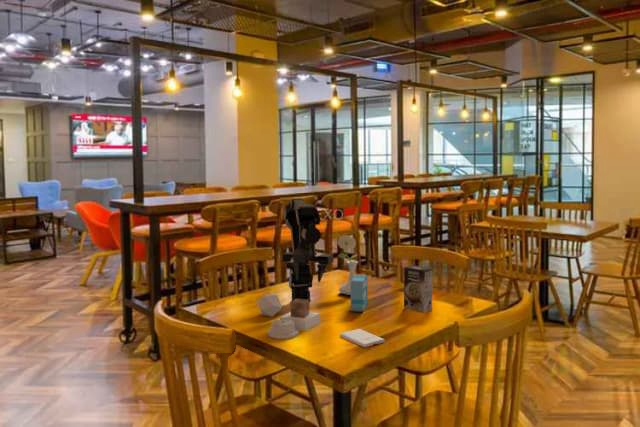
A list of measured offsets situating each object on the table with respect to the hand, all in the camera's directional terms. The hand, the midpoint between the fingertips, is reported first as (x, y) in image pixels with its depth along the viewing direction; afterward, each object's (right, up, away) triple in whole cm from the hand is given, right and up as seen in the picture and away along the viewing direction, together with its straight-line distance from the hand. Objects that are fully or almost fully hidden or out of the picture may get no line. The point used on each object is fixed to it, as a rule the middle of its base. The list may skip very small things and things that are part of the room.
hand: (307, 280), depth 204 cm
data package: (+20, -11, +6) cm, 23 cm away
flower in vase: (+18, -9, +28) cm, 35 cm away
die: (-14, -13, -1) cm, 19 cm away
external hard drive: (+18, -16, -29) cm, 38 cm away
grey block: (-2, -14, -14) cm, 20 cm away
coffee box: (+42, -11, +4) cm, 43 cm away
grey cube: (-2, -10, -14) cm, 18 cm away
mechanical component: (-8, -15, -24) cm, 29 cm away
